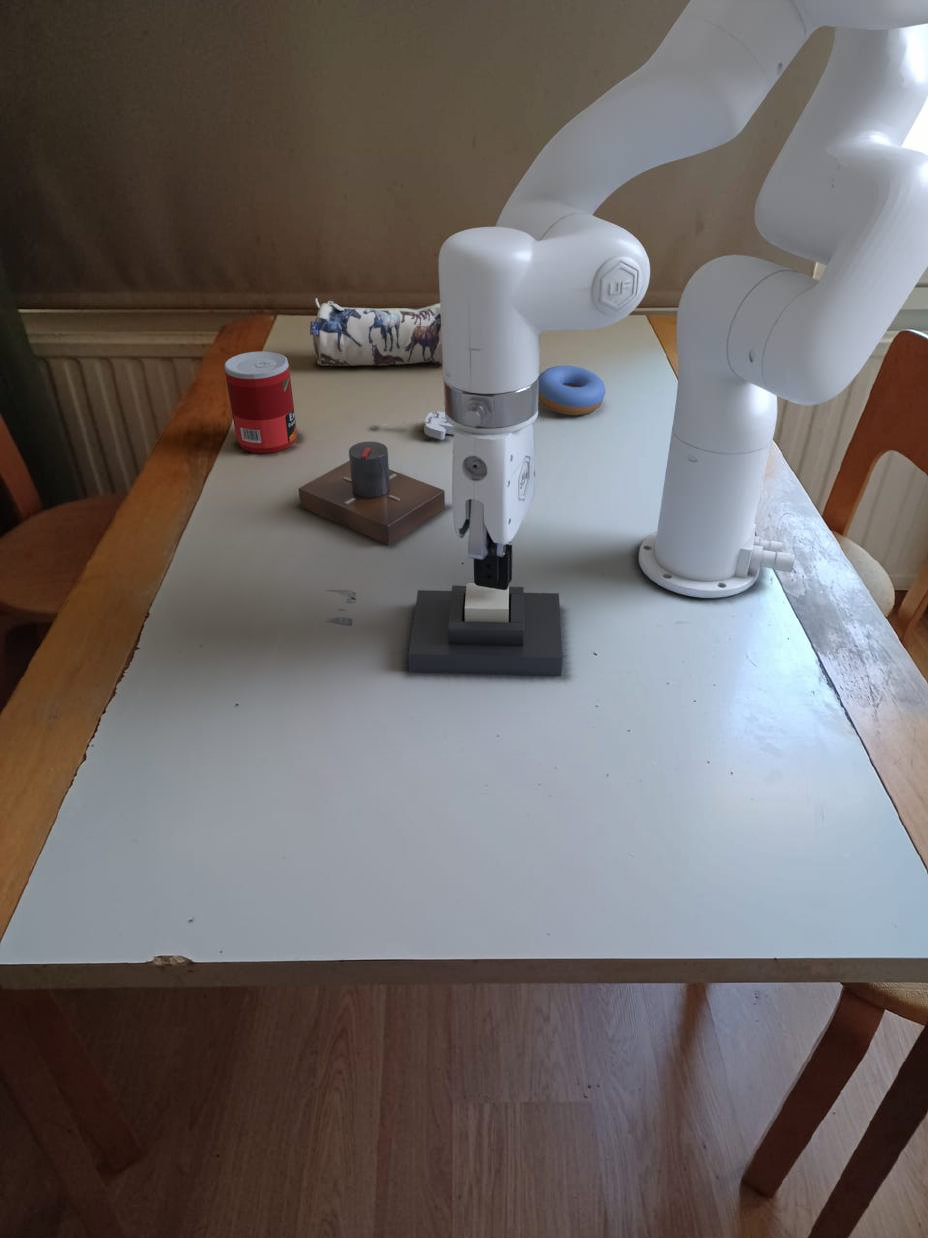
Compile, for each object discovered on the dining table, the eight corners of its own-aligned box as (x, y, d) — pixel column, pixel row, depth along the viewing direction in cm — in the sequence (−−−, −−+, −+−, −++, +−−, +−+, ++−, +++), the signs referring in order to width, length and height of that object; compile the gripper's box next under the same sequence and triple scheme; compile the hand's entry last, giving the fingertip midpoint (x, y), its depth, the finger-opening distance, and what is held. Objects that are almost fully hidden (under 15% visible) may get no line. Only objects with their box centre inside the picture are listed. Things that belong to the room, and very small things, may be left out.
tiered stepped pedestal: (557, 610, 91) (559, 578, 89) (561, 676, 83) (564, 642, 81) (418, 607, 92) (417, 575, 89) (409, 672, 84) (407, 638, 81)
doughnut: (617, 411, 128) (620, 380, 125) (556, 425, 125) (557, 394, 122) (580, 386, 135) (582, 356, 132) (521, 398, 132) (522, 368, 129)
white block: (508, 598, 87) (508, 583, 86) (508, 624, 83) (508, 608, 82) (466, 597, 87) (466, 582, 86) (464, 623, 84) (464, 608, 83)
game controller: (463, 440, 121) (462, 422, 120) (377, 447, 120) (375, 429, 118) (456, 421, 126) (455, 404, 124) (373, 429, 124) (371, 411, 123)
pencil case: (312, 374, 139) (305, 311, 133) (318, 353, 146) (312, 292, 140) (455, 372, 139) (454, 309, 134) (454, 351, 146) (453, 290, 140)
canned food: (304, 448, 120) (294, 368, 113) (243, 459, 117) (229, 377, 111) (290, 424, 125) (280, 347, 119) (232, 434, 123) (219, 355, 116)
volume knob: (357, 478, 108) (353, 437, 105) (393, 481, 107) (391, 440, 104) (348, 496, 104) (344, 455, 101) (385, 499, 104) (382, 457, 101)
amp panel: (445, 508, 107) (444, 488, 105) (389, 545, 101) (387, 525, 99) (358, 474, 114) (356, 455, 112) (300, 506, 108) (297, 487, 106)
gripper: (512, 444, 66) (511, 639, 77) (558, 364, 77) (551, 545, 88) (414, 433, 68) (428, 625, 79) (473, 356, 79) (478, 534, 90)
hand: (493, 582), depth 84 cm, fingers closed
